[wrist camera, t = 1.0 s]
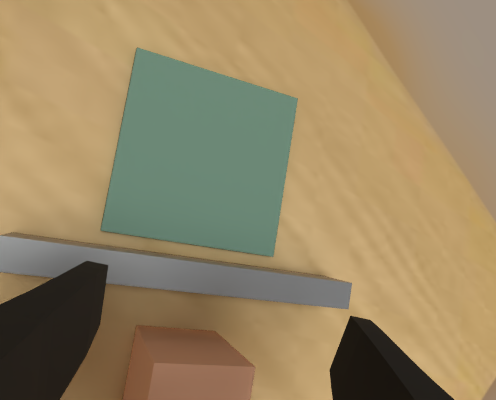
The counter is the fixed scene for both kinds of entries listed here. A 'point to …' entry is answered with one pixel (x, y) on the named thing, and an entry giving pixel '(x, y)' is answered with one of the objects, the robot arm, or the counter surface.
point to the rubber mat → (199, 158)
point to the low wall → (170, 271)
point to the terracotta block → (186, 366)
